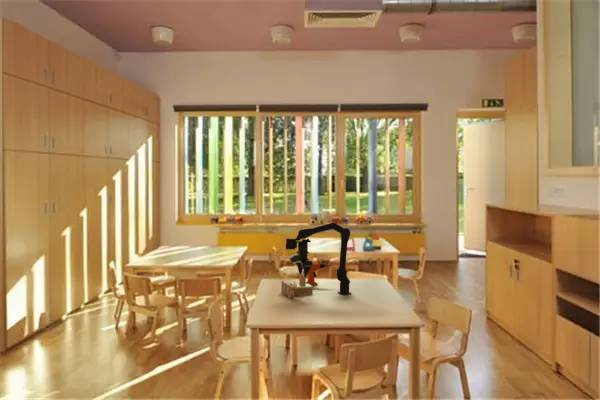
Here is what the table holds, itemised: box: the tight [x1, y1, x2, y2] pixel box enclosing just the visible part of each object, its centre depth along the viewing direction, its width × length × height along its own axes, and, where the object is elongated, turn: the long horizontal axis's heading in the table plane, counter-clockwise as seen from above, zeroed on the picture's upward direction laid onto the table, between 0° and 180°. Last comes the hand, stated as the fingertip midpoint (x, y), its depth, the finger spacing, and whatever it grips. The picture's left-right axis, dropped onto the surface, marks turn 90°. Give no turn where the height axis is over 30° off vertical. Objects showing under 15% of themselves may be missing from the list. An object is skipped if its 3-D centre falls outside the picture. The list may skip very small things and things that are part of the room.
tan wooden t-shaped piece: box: [281, 280, 314, 300], centre depth 295 cm, size 18×16×7 cm
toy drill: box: [306, 262, 333, 287], centre depth 324 cm, size 5×19×15 cm, turn 86°
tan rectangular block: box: [289, 281, 297, 289], centre depth 289 cm, size 4×3×3 cm
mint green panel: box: [296, 274, 313, 288], centre depth 298 cm, size 8×14×8 cm, turn 109°
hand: (302, 275), depth 299 cm, fingers open, 9 cm apart
